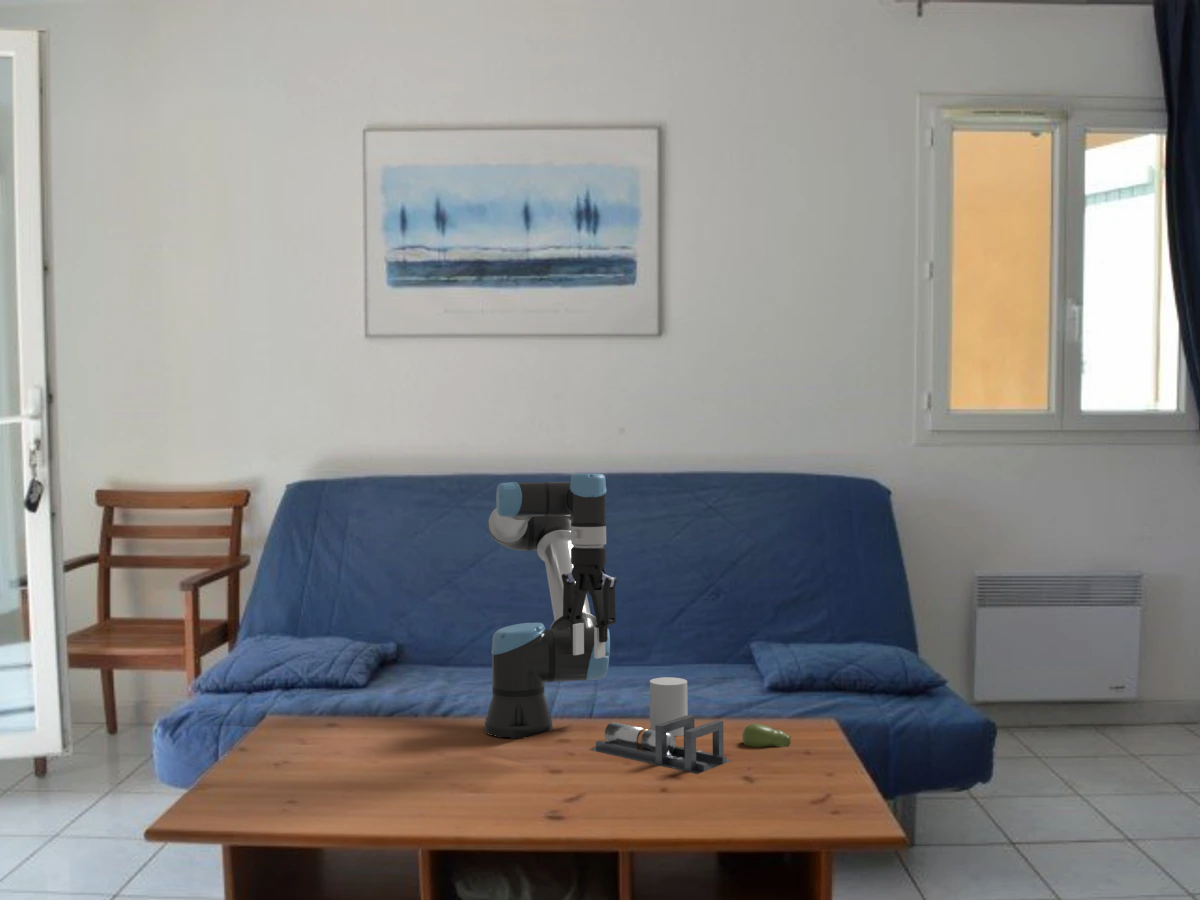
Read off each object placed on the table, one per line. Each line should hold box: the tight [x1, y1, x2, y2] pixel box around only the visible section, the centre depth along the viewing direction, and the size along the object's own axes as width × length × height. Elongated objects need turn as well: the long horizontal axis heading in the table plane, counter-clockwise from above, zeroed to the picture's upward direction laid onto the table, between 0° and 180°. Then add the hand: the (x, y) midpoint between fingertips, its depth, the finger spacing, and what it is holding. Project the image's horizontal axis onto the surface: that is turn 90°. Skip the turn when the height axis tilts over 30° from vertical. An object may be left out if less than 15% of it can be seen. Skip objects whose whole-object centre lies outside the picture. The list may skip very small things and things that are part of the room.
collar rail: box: [588, 714, 733, 775], centre depth 219 cm, size 27×12×8 cm, turn 50°
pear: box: [742, 723, 791, 748], centre depth 227 cm, size 6×5×10 cm
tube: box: [604, 721, 677, 755], centre depth 223 cm, size 15×4×4 cm, turn 50°
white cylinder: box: [649, 676, 688, 737], centre depth 238 cm, size 8×8×12 cm
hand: (589, 655), depth 231 cm, fingers open, 5 cm apart
